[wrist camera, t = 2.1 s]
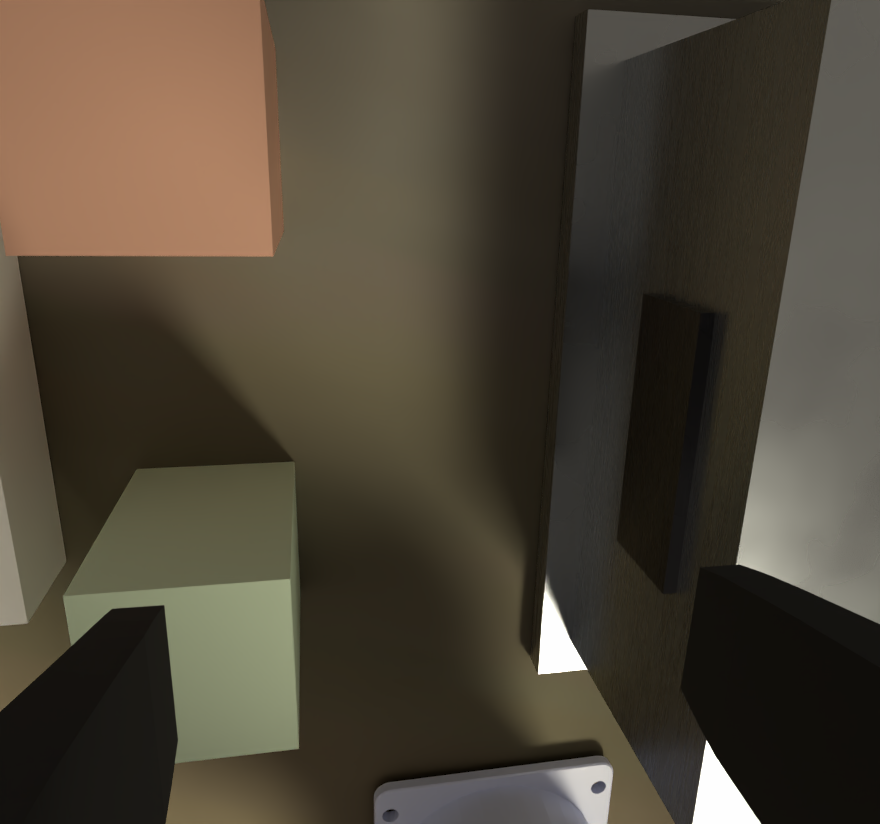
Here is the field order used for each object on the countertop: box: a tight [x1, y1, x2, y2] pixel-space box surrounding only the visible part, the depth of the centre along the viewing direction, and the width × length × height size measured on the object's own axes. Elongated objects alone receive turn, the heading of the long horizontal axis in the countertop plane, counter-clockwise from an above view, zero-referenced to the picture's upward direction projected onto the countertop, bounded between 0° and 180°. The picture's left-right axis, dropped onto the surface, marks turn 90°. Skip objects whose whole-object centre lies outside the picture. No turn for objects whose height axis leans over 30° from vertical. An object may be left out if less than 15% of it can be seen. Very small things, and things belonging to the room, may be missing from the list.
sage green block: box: [63, 462, 301, 763], centre depth 17 cm, size 4×4×6 cm
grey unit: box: [530, 0, 880, 824], centre depth 16 cm, size 18×6×8 cm, turn 179°
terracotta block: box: [0, 0, 284, 256], centre depth 13 cm, size 4×4×6 cm
